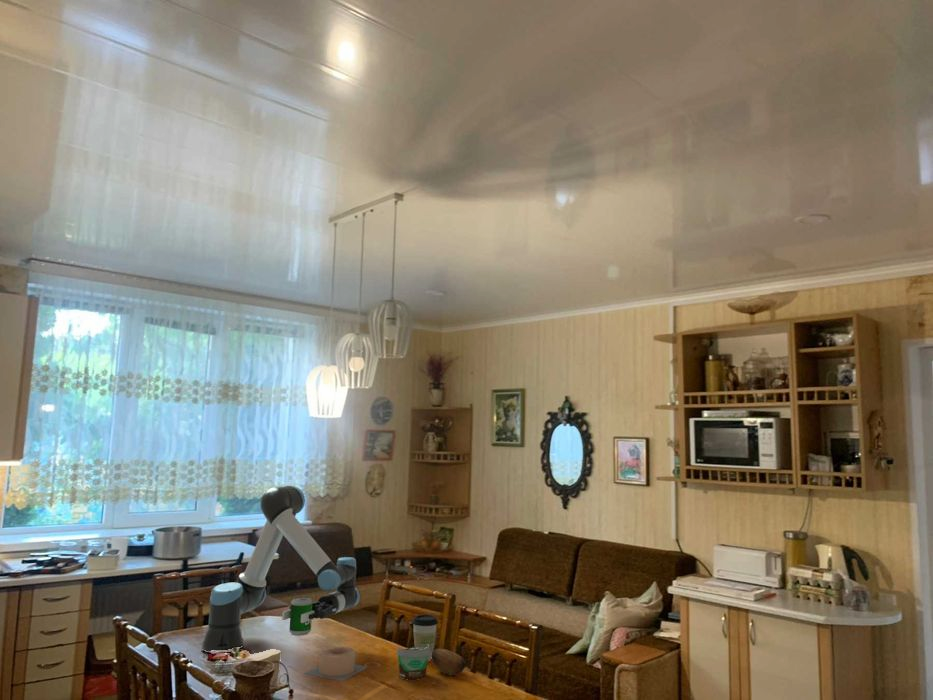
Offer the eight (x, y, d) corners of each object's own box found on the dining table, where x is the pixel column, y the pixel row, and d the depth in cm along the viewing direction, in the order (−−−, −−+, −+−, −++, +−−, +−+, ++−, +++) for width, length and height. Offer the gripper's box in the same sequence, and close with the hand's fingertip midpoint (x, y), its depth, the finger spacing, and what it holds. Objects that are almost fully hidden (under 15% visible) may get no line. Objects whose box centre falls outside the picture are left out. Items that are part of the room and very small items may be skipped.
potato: (462, 684, 229) (458, 677, 223) (429, 669, 234) (424, 661, 228) (471, 663, 233) (467, 655, 227) (438, 648, 238) (433, 641, 233)
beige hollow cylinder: (312, 672, 225) (313, 654, 226) (332, 662, 236) (333, 645, 237) (341, 678, 220) (342, 659, 221) (360, 667, 231) (361, 649, 232)
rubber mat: (303, 676, 224) (303, 673, 224) (330, 663, 238) (331, 660, 238) (342, 684, 217) (342, 680, 218) (368, 669, 232) (368, 666, 232)
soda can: (299, 637, 227) (301, 601, 229) (284, 634, 231) (286, 598, 233) (315, 632, 233) (317, 597, 235) (300, 629, 237) (302, 595, 239)
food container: (402, 683, 219) (403, 652, 220) (395, 678, 224) (396, 647, 226) (435, 678, 224) (436, 648, 226) (428, 673, 230) (428, 643, 231)
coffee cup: (433, 664, 240) (434, 621, 242) (407, 662, 241) (409, 619, 244) (439, 656, 249) (440, 615, 251) (415, 654, 251) (416, 613, 253)
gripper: (352, 617, 244) (315, 632, 224) (308, 611, 253) (268, 625, 232) (353, 596, 246) (316, 609, 225) (309, 591, 254) (270, 603, 233)
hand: (292, 617), depth 228 cm, fingers closed on soda can, 7 cm apart
